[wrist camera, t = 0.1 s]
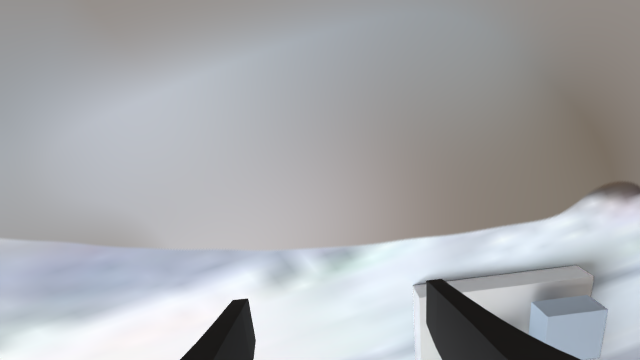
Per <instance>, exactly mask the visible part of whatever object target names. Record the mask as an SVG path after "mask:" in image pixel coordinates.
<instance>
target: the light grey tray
mask: <svg viewBox="0 0 640 360" xmlns="http://www.w3.org/2000/svg"><path fill="white" fill-rule="evenodd" d="M593 280H594V276H593V275H591V274H590V273H588V272H586V271H585V270H583V269H582V268H580V267H578V266H577V265H575V266H567V267H559V268H551V269H542V270H534V271H526V272H518V273H510V274H502V275H494V276H486V277H478V278H470V279H462V280H453V281H445V282H447V283H448V284H450V285H451V286H453V287H454V288H455V289H457V290H458V291H460V292H461V293H463V294H464V295H465V296H467V297H468V298H470V299H471V300H473V301H474V302H476V303H477V304H479V305H480V306H482V307H483V308H485V309H486V310H488V311H489V312H491V313H492V314H494V315H496V316H497V317H499V318H501V319H502V320H504V321H506V322H507V323H509V324H511V325H512V326H514V327H516V328H517V329H519V330H521V331H523V332H525V333H527V334H529V323H530V312H531V302H535V301H543V300H551V299H559V298H567V297H575V296H583V295H588V296H590V297H591V293H592V286H593ZM413 312H414V340H415V360H442V359H441V357H440V355H439V353H438V351H437V349H436V347H435V344H434V342H433V340H432V337H431V335H430V332H429V329H428V327H427V324H426V284H421V285H413Z"/></svg>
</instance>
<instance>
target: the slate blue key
mask: <svg viewBox="0 0 640 360" xmlns="http://www.w3.org/2000/svg"><path fill="white" fill-rule="evenodd" d="M607 313H608V309H607V308H605V307H604V306H602V305H601V304H600V303H598V302H597V301H595V300H594V299H593V298H591V297H590V296H588V295H583V296H575V297H567V298H559V299H551V300H543V301H535V302H531V312H530V323H529V334H528V335H530V336H532V337H534V338H536V339H538V340H540V341H542V342H544V343H546V344H548V345H550V346H552V347H554V348H556V349H558V350H561V351H563V352H565V353H567V354H570V355H572V356H574V357H576V358H579V359H581V360H587V359H595V358H600V353H601V347H602V341H603V336H604V330H605V324H606V318H607Z"/></svg>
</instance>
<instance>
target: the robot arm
mask: <svg viewBox="0 0 640 360" xmlns="http://www.w3.org/2000/svg"><path fill="white" fill-rule="evenodd" d="M426 324H427V327H428V329H429V332H430V335H431V337H432V340H433V342H434V344H435V347H436V349H437V351H438V353H439V355H440V357H441V359H442V360H581V359H579V358H576V357H574V356H572V355H570V354H567V353H565V352H563V351H561V350H558V349H556V348H554V347H552V346H550V345H548V344H546V343H544V342H542V341H540V340H538V339H536V338H534V337H532V336H530V335H528V334H527V333H525V332H523V331H521V330H519V329H517V328H516V327H514V326H512V325H511V324H509V323H507V322H506V321H504V320H502V319H501V318H499V317H497V316H496V315H494V314H492V313H491V312H489V311H488V310H486V309H485V308H483V307H482V306H480V305H479V304H477V303H476V302H474V301H473V300H471V299H470V298H468V297H467V296H465V295H464V294H463V293H461V292H460V291H458V290H457V289H455V288H454V287H453V286H451V285H450V284H448V283H447V282H445V281H444V280H442V279H437V280H427V281H426ZM255 342H256V340H255V334H254V329H253V323H252V318H251V312H250V306H249V301H248V299H240V300H233V301H232V302H231V303H230V304H229V305H228V306H227V308H226V309H225V310H224V311H223V312H222V314H221V315H220V316H219V317H218V318H217V320H216V321H215V322H214V323H213V324H212V326H211V327H210V328H209V329H208V330H207V331H206V332H205V334H204V335H203V336H202V337H201V338H200V339H199V340H198V341H197V343H196V344H195V345H194V346H193V347H192V348H191V349H190V350H189V351H188V352H187V353H186V354H185V355H184V356H183V357H182V358H181V359H180V360H253V358H254V350H255Z"/></svg>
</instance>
